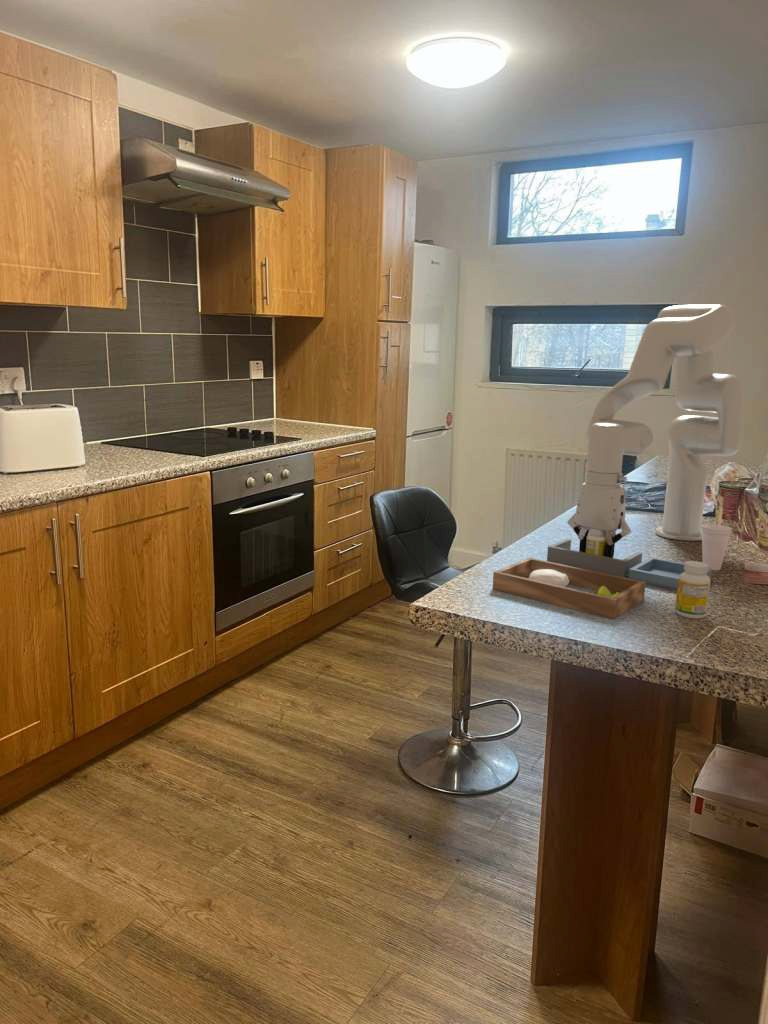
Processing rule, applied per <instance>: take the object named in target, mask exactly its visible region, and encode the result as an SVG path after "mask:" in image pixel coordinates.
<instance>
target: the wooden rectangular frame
mask: <svg viewBox="0 0 768 1024" xmlns="http://www.w3.org/2000/svg"><path fill="white" fill-rule="evenodd" d="M540 569H551V570H555V571H558V572H560V573H562V574H564V573H565V574H566V575H567V577H568V579H569V583H568V585H573V586H577V587H580V588H585V589H590V590H595V591H598V590H599V589H600V587H602V586H605V587H606V588H607V589H608V590H609V591H610V593H617V592H619V594H618V595H616V596H615V597H613V598H611V597H606V596H602V595H598V594H594V593H593V592H587V591H584V590H580V589H575V588H571V587H567V586H565V587H563V586H558V585H554V584H550V583H545V582H541V581H537V580H532V579H529V576H530V574H531V573H532V572H533V571H535V570H540ZM492 575H493V577H492V590H495V591H499V592H501V593H502V592H503V593H505V594H507V593H508V594H510V595H515V596H519V597H523V598H526V599H531V600H535V601H538V602H539V601H540V602H544V603H548V604H550V605H551V604H552V605H555V606H560V607H564V608H567V609H572V610H576V611H580V612H584V613H587V614H592V615H596V616H600V617H603V618H608V619H612V620H614V619H616V618H618V617H619V616H620V615H622V614H624V613H625V612H627V611H629V610H630V609H631V608H633V607H634V606H636V605H638V604H640V602H642V601H644V600H645V595H646V594H645V593H646V585H647V584H646V582H644V581H639V580H634V579H629V578H628V577H620V576H615V575H610V574H605V573H601V572H596V571H591V570H586V569H582V568H577V567H572V566H567V565H562V564H558V563H553V562H548V561H547V560H543V559H538V558H534V557H528V558H525V559H522V560H521V561H518V562H516V563H513V564H510V565H508V566H505V567H503V568H500V569H498V570H495V571H493V573H492Z"/></svg>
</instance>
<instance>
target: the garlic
mask: <svg viewBox="0 0 768 1024" xmlns="http://www.w3.org/2000/svg"><path fill="white" fill-rule="evenodd" d="M528 579H532V580H537V581H541V582H545V583H550V584H554V585H558V586H563V587H567V586H568V585H569V584H568V583H569V579H568V577H567V575H566V574H565V573H564V574H562V573H560V572H558V571H555V570H551V569H540V570H535V571H533V572H532V573H531V574H530V576H528Z"/></svg>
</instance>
